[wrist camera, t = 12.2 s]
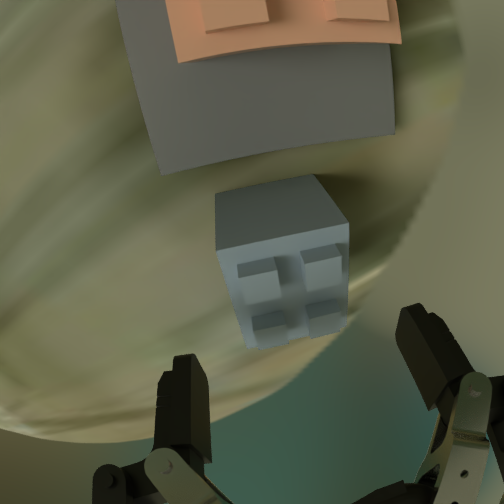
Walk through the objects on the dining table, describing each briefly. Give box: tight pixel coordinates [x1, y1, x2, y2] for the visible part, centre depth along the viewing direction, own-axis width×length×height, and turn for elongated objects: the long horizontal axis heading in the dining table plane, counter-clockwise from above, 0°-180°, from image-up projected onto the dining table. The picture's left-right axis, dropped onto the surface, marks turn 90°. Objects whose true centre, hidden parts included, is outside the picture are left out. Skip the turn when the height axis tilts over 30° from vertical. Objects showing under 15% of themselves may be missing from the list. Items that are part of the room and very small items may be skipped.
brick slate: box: [215, 174, 349, 350], centre depth 15 cm, size 6×5×6 cm
